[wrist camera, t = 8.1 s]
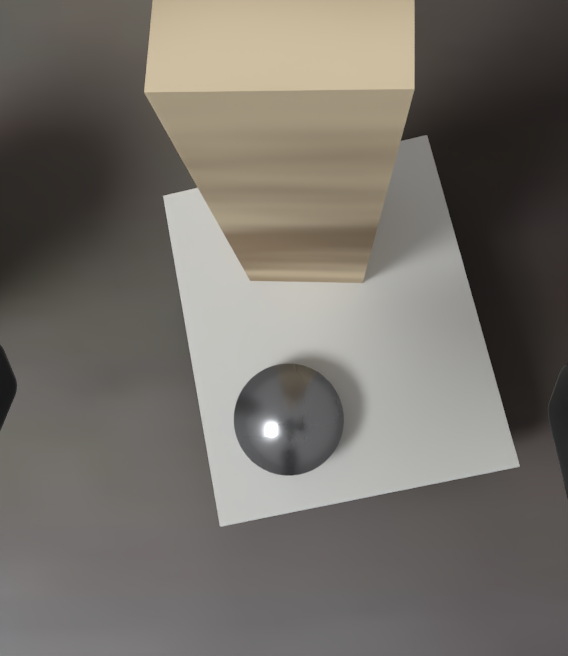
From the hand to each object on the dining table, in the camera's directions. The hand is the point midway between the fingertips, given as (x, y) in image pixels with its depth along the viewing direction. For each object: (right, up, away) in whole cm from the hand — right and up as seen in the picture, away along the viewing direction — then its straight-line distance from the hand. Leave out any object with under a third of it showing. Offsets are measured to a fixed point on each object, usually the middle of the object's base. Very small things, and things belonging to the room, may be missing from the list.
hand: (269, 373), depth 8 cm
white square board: (+2, +1, +12) cm, 13 cm away
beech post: (+1, +4, +10) cm, 11 cm away
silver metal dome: (0, -2, +9) cm, 10 cm away
